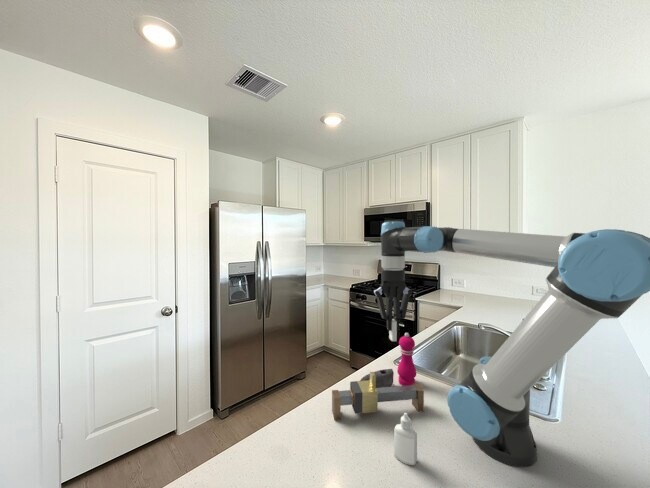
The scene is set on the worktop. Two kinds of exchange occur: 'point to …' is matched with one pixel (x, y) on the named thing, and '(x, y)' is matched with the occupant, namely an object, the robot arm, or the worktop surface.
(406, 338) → the pepper mill
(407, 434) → the eye dropper bottle
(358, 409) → the ring
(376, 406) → the sleeve
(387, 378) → the perforated stone tool
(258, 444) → the worktop surface
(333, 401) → the bar clamp
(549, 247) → the robot arm
